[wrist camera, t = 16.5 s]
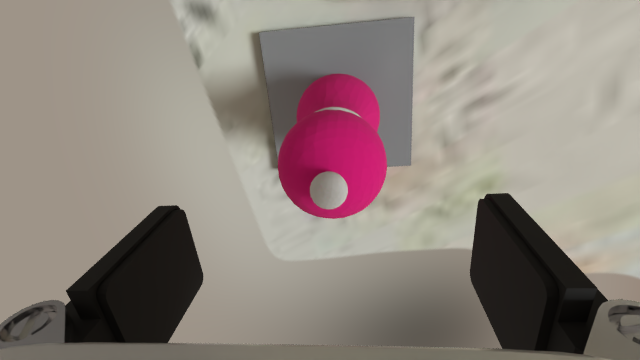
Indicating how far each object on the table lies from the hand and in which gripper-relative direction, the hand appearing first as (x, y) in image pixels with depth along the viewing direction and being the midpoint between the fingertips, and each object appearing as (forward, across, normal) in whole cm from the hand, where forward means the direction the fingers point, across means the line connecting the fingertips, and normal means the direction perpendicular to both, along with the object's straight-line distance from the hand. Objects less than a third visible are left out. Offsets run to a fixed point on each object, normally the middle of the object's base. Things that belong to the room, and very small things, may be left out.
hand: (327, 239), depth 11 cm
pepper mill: (+24, +1, +1) cm, 24 cm away
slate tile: (+25, 0, 0) cm, 25 cm away
